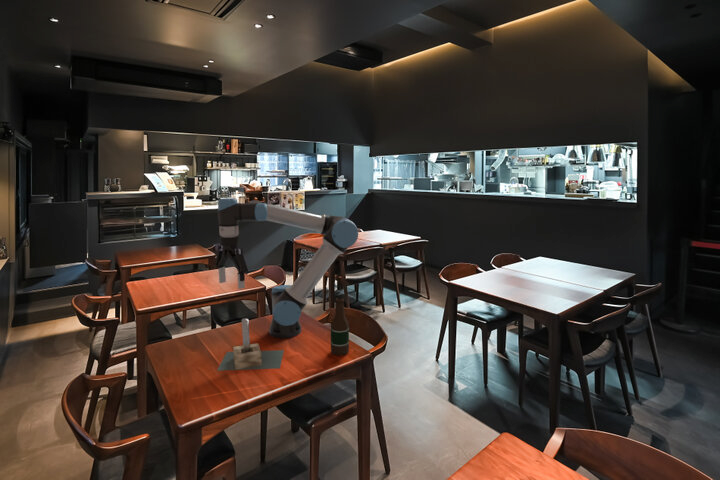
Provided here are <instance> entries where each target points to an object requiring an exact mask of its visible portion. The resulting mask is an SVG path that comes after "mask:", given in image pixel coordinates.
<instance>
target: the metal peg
mask: <svg viewBox="0 0 720 480" xmlns="http://www.w3.org/2000/svg"><path fill="white" fill-rule="evenodd" d="M249 323H250V321H249V318H246V317H245V318H242V319H241V330H242V331H241V333H242V346H243V351H244V353H247V352H250V344H251V342H250V341H251V339H250V326H249V325H250V324H249Z"/></svg>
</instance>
